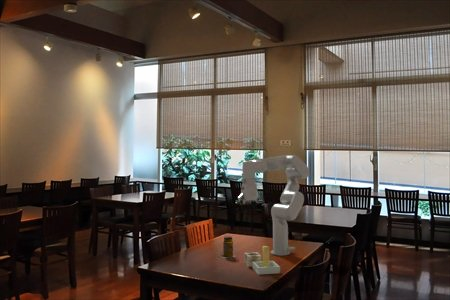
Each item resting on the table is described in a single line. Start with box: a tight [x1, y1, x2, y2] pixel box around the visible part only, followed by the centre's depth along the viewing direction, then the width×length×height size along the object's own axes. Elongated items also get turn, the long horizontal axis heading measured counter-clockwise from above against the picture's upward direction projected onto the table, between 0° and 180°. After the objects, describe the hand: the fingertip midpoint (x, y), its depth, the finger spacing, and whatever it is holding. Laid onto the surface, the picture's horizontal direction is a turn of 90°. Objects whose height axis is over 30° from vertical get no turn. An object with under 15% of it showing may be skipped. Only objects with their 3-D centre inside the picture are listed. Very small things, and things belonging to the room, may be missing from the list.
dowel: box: [262, 245, 270, 267], centre depth 216 cm, size 4×4×12 cm
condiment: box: [218, 236, 236, 259], centre depth 247 cm, size 7×8×12 cm
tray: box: [252, 260, 281, 276], centre depth 216 cm, size 12×12×4 cm
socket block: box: [243, 251, 262, 268], centre depth 228 cm, size 8×8×6 cm
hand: (249, 210), depth 236 cm, fingers open, 9 cm apart
